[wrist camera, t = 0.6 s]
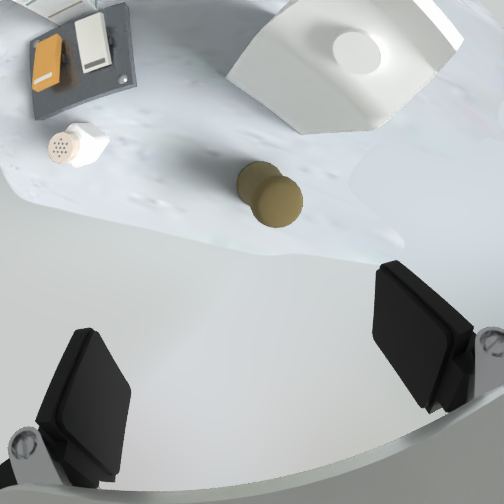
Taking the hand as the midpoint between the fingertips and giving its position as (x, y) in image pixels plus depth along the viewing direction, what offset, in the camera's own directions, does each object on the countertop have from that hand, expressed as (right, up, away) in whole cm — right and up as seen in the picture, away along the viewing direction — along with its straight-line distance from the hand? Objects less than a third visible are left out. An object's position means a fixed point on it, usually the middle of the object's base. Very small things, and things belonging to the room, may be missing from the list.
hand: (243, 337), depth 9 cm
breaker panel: (-21, +27, +18) cm, 39 cm away
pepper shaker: (+1, +11, +29) cm, 31 cm away
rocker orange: (-24, +25, +14) cm, 38 cm away
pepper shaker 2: (-20, +17, +23) cm, 35 cm away
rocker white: (-18, +26, +15) cm, 35 cm away
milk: (+5, +25, +24) cm, 35 cm away
